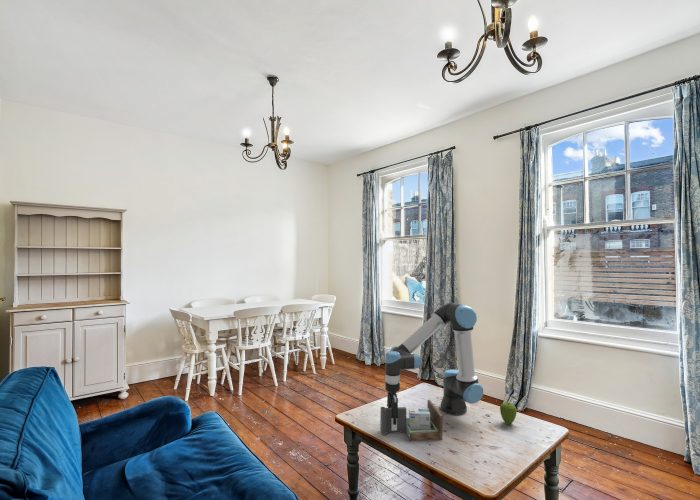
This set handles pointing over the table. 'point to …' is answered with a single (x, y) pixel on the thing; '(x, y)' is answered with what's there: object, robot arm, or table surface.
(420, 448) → the table surface
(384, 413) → the pull cradle
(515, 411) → the green rounded lump
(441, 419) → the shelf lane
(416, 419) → the light bulb box
